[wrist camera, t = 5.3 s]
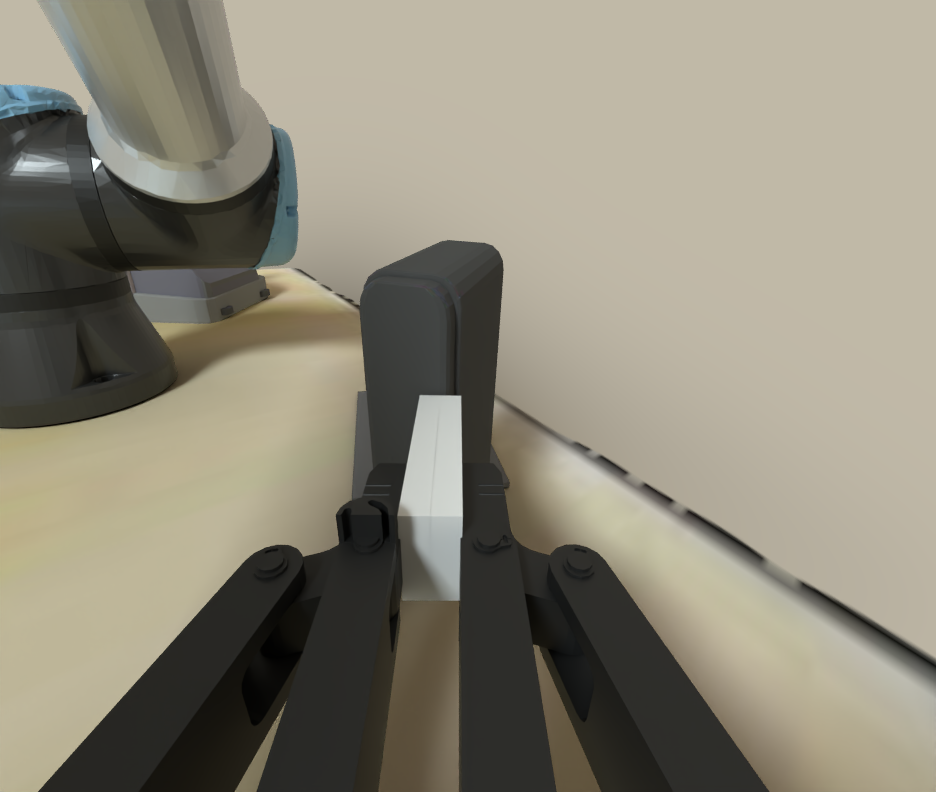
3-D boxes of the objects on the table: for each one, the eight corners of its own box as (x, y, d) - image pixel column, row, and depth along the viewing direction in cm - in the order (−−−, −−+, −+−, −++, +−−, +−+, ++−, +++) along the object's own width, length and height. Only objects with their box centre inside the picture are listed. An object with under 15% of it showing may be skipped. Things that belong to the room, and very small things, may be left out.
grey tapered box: (185, 290, 82) (164, 201, 75) (288, 297, 78) (275, 205, 72) (72, 320, 63) (30, 204, 56) (201, 331, 59) (172, 209, 53)
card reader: (433, 470, 30) (432, 235, 23) (491, 482, 29) (509, 241, 22) (371, 578, 22) (341, 271, 15) (448, 599, 21) (455, 282, 14)
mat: (358, 395, 41) (357, 391, 41) (463, 389, 43) (463, 385, 43) (352, 503, 27) (351, 498, 27) (509, 487, 29) (509, 482, 29)
